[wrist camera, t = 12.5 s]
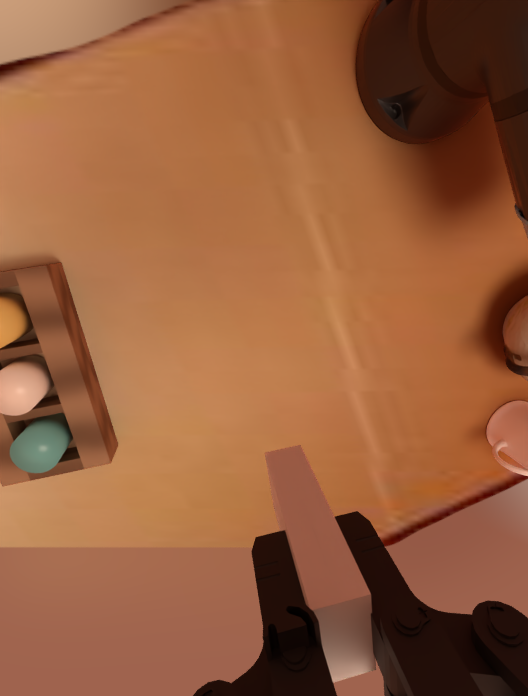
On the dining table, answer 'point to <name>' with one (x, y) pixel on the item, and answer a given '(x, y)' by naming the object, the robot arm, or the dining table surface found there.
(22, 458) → the teal egg
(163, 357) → the dining table surface
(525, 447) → the mug
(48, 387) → the pink round piece
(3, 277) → the wooden compartment tray
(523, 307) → the sugar bowl
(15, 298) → the orange rounded ball
